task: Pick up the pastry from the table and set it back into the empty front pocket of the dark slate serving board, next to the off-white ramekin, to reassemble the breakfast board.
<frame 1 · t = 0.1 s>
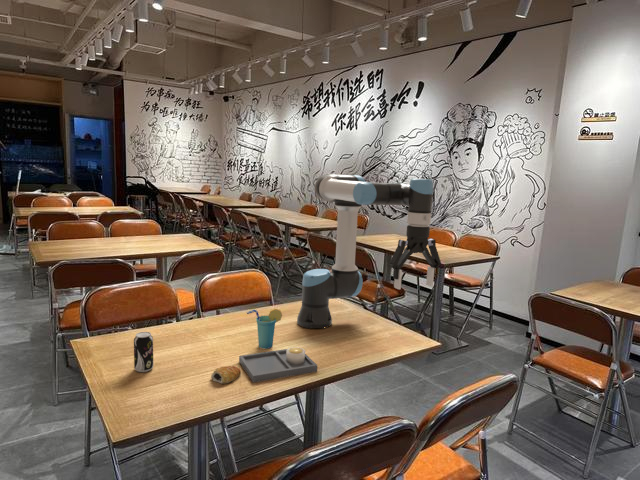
hand: (413, 287, 151), 28 cm above the table, fingers open, 13 cm apart
cup: (263, 347, 165), on the table
pastry: (225, 379, 139), on the table
serving board: (277, 366, 149), on the table
beverage can: (144, 370, 143), on the table
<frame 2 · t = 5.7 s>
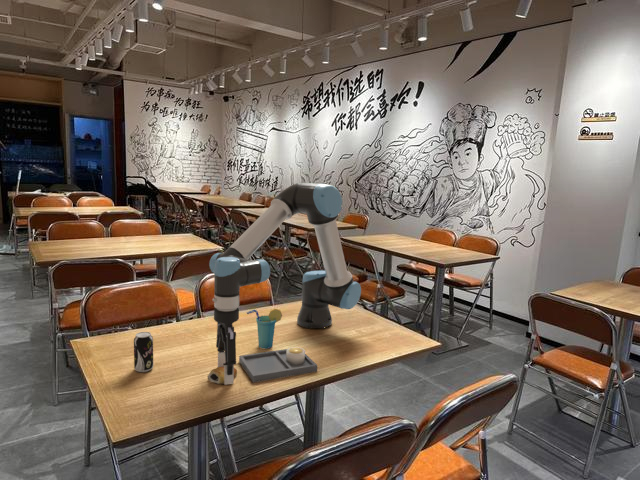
hand: (225, 377, 139), 0 cm above the table, fingers open, 8 cm apart
pastry: (222, 379, 139), on the table
everything else where it was.
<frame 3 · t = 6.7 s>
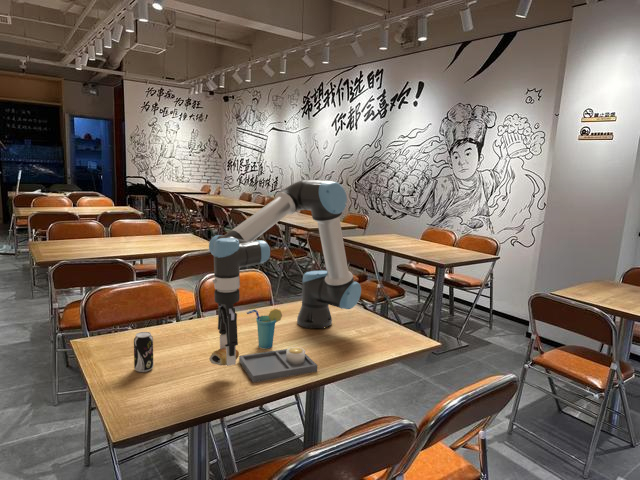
hand: (227, 358, 139), 6 cm above the table, fingers closed on pastry, 8 cm apart
pastry: (224, 361, 139), point 5 cm above the table, touching gripper
everything else where it was.
when the fingers open (3 cm above the table, at t = 11.1 s): pastry stays where it is, resting on serving board.
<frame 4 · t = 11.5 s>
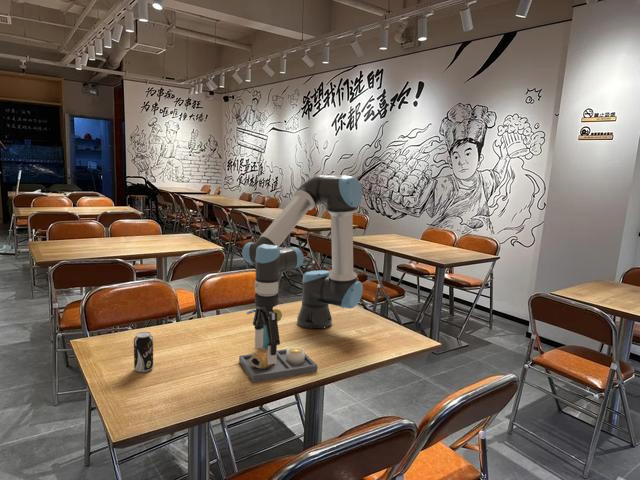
hand: (265, 355, 146), 5 cm above the table, fingers open, 13 cm apart
pastry: (261, 364, 147), point 1 cm above the table, touching serving board
everything else where it was.
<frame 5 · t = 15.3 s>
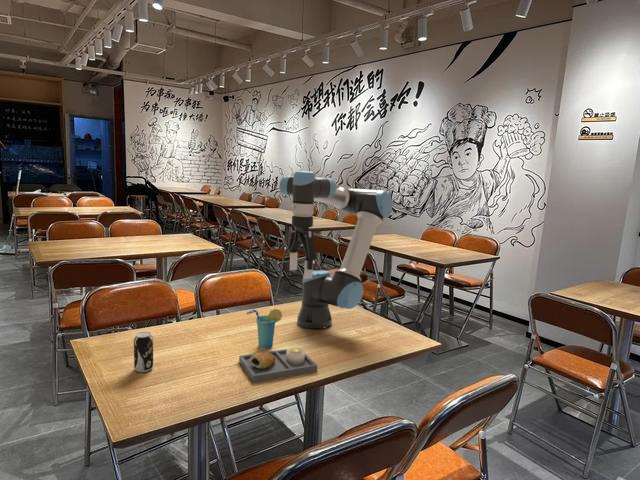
hand: (300, 274, 160), 29 cm above the table, fingers open, 13 cm apart
nothing on the table moved.
at the end: pastry inside the target area on the serving board (1.4 cm from its centre), point 1.5 cm above the serving board's base; the gripper is holding nothing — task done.
